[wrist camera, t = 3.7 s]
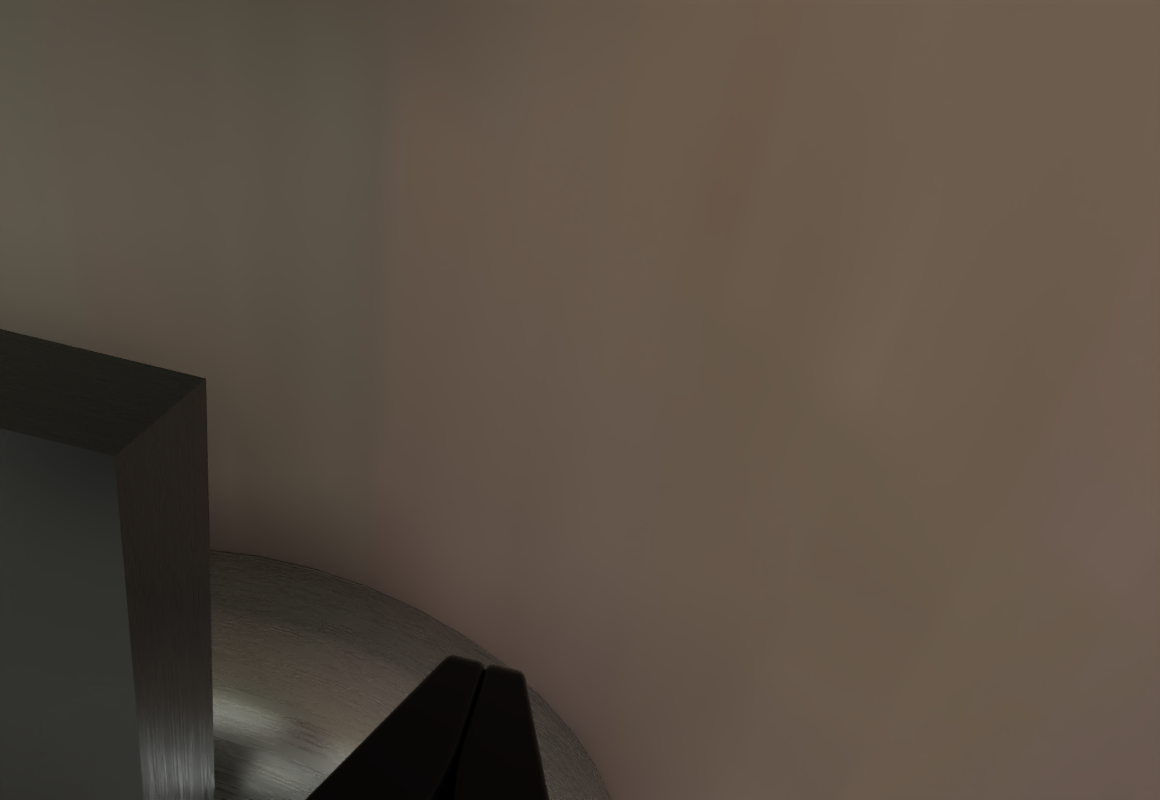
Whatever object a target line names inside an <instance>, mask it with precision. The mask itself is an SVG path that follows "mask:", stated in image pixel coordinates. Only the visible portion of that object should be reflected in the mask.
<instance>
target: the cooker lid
mask: <svg viewBox="0 0 1160 800" xmlns="http://www.w3.org/2000/svg"><path fill="white" fill-rule="evenodd" d="M0 800H215V781H214V734H213V687H212V641H211V594H210V547H209V500H208V453H207V406H206V379H205V378H201V377H197V376H193V375H189V374H184V373H180V372H176V371H172V370H168V369H164V368H160V367H155V366H151V365H147V364H143V363H139V362H135V361H130V360H126V359H122V358H118V357H114V356H110V355H106V354H101V353H97V352H93V351H89V350H85V349H81V348H76V347H72V346H68V345H64V344H60V343H56V342H52V341H47V340H43V339H39V338H35V337H31V336H27V335H22V334H18V333H14V332H10V331H6V330H2V329H0Z"/></svg>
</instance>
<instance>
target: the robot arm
mask: <svg viewBox="0 0 1160 800" xmlns="http://www.w3.org/2000/svg"><path fill="white" fill-rule="evenodd" d="M305 800H549V795H548V790H547V785H546V780H545V775H544V770H543V765H542V760H541V755H540V750H539V745H538V740H537V734H536V729H535V724H534V719H533V714H532V709H531V704H530V699H529V694H528V689H527V684H526V679H525V677H524V675H523V673H522V672H520V671H518V670H514V669H510V668H506V667H502V666H498V665H489V666H488V667H487V668H486V669H485V666H484V664H483V663H482V662H480V661H477V660H473V659H469V658H465V657H461V656H456V655H450V656H448V657H446V658H445V659H444V660H443V661H442V662H441V663H440V664H439V665H438V666H437V667H436V668H435V669H434V670H433V671H432V672H431V673H430V674H429V675H428V676H427V677H426V678H425V679H424V680H423V681H422V682H421V683H420V684H419V685H418V686H417V687H416V688H415V689H414V690H413V691H412V692H411V693H410V694H409V695H408V696H407V697H406V698H405V699H404V700H403V701H402V702H401V703H400V704H399V705H398V706H397V707H396V708H395V709H394V710H393V711H392V712H391V713H390V714H389V715H388V716H387V717H386V718H385V719H384V720H383V721H382V722H381V723H380V724H379V725H378V726H377V727H376V728H375V729H374V730H373V731H372V732H371V733H370V734H369V735H368V736H367V737H366V739H365V740H364V741H363V742H362V743H361V744H360V745H359V746H358V747H357V748H356V749H355V750H354V751H353V752H352V753H351V754H350V755H349V756H348V757H347V758H346V759H345V760H344V761H343V762H342V763H341V764H340V765H339V766H338V767H337V768H336V769H335V770H334V771H333V772H332V773H331V774H330V775H329V776H328V777H327V778H326V779H325V780H324V781H323V782H322V783H321V784H320V785H319V786H318V787H317V788H316V789H315V790H314V791H313V792H312V793H311V794H310V795H309V796H308V797H307V798H306V799H305Z"/></svg>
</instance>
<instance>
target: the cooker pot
mask: <svg viewBox="0 0 1160 800" xmlns="http://www.w3.org/2000/svg"><path fill="white" fill-rule="evenodd" d="M210 594H211V641H212V687H213V734H214V781H215V800H305V799H306V798H307V797H308V796H309V795H310V794H311V793H312V792H313V791H314V790H315V789H316V788H317V787H318V786H319V785H320V784H321V783H322V782H323V781H324V780H325V779H326V778H327V777H328V776H329V775H330V774H331V773H332V772H333V771H334V770H335V769H336V768H337V767H338V766H339V765H340V764H341V763H342V762H343V761H344V760H345V759H346V758H347V757H348V756H349V755H350V754H351V753H352V752H353V751H354V750H355V749H356V748H357V747H358V746H359V745H360V744H361V743H362V742H363V741H364V740H365V739H366V737H367V736H368V735H369V734H370V733H371V732H372V731H373V730H374V729H375V728H376V727H377V726H378V725H379V724H380V723H381V722H382V721H383V720H384V719H385V718H386V717H387V716H388V715H389V714H390V713H391V712H392V711H393V710H394V709H395V708H396V707H397V706H398V705H399V704H400V703H401V702H402V701H403V700H404V699H405V698H406V697H407V696H408V695H409V694H410V693H411V692H412V691H413V690H414V689H415V688H416V687H417V686H418V685H419V684H420V683H421V682H422V681H423V680H424V679H425V678H426V677H427V676H428V675H429V674H430V673H431V672H432V671H433V670H434V669H435V668H436V667H437V666H438V665H439V664H440V663H441V662H442V661H443V660H444V659H445V658H446V657H448V656H450V655H456V656H461V657H465V658H469V659H473V660H477V661H480V662H482V663H483V664H484V666H485V669H486V668H487V667H488V666H489V665H498V666H502V667H506V668H508V667H507V666H506V665H504V664H503V663H502V662H500V661H499V660H497V659H496V658H495V657H493V656H492V655H490V654H489V653H487V652H486V651H485V650H483V649H482V648H480V647H479V646H477V645H476V644H475V643H473V642H472V641H470V640H469V639H468V638H466V637H465V636H463V635H462V634H460V633H458V632H456V631H455V630H453V629H451V628H449V627H447V626H446V625H444V624H442V623H440V622H439V621H437V620H435V619H433V618H431V617H430V616H428V615H426V614H424V613H423V612H421V611H419V610H417V609H415V608H413V607H411V606H409V605H406V604H404V603H402V602H400V601H397V600H395V599H393V598H391V597H388V596H386V595H384V594H382V593H379V592H377V591H375V590H373V589H370V588H368V587H366V586H363V585H360V584H357V583H354V582H351V581H348V580H345V579H342V578H339V577H336V576H333V575H330V574H327V573H324V572H321V571H318V570H315V569H312V568H307V567H303V566H298V565H294V564H289V563H285V562H281V561H276V560H272V559H267V558H263V557H258V556H250V555H242V554H234V553H226V552H217V551H210ZM527 689H528V694H529V699H530V704H531V709H532V714H533V719H534V724H535V729H536V734H537V740H538V745H539V750H540V755H541V760H542V765H543V770H544V775H545V780H546V785H547V790H548V795H549V800H611V798H610V795H609V793H608V791H607V789H606V787H605V785H604V783H603V781H602V779H601V777H600V775H599V773H598V771H597V769H596V767H595V764H594V763H593V761H592V760H591V758H590V757H589V755H588V754H587V753H586V751H585V750H584V748H583V747H582V745H581V744H580V742H579V741H578V739H577V738H576V737H575V735H574V734H573V732H572V731H571V729H570V728H569V727H568V726H567V725H566V724H565V723H564V722H563V720H562V719H561V718H560V717H559V716H558V715H557V714H556V713H555V712H554V710H553V709H552V708H551V707H550V706H549V705H548V704H547V703H546V702H545V700H544V699H543V698H542V697H541V696H540V695H539V694H537V693H536V692H535V691H534V690H533V689H532V688H531V687H530V686H528V685H527Z"/></svg>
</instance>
